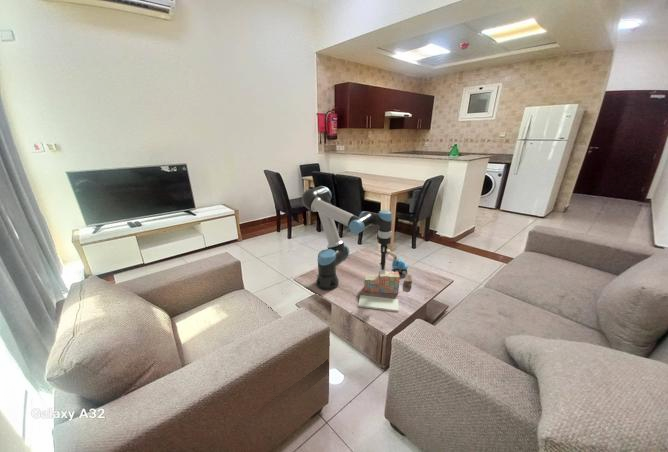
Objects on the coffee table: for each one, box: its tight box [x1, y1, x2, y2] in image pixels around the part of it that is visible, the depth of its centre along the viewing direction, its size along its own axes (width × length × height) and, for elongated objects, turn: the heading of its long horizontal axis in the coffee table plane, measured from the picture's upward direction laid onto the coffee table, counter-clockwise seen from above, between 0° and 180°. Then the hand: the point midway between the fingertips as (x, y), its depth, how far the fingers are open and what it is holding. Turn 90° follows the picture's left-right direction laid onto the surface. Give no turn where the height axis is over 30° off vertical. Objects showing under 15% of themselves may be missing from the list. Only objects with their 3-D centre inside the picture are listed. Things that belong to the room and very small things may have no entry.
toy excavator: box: [386, 248, 409, 276], centre depth 183 cm, size 9×17×17 cm, turn 80°
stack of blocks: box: [363, 270, 400, 294], centre depth 163 cm, size 21×6×12 cm, turn 85°
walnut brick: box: [404, 273, 413, 289], centre depth 170 cm, size 4×8×5 cm, turn 165°
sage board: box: [357, 294, 399, 312], centre depth 152 cm, size 23×10×1 cm, turn 77°
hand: (383, 267), depth 160 cm, fingers open, 13 cm apart
